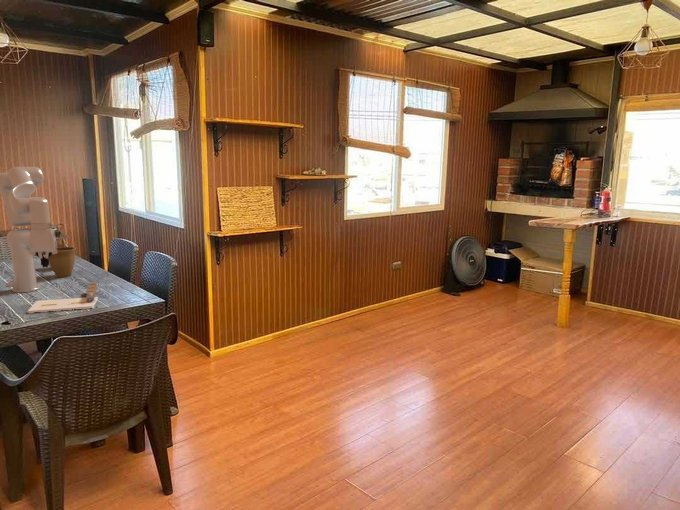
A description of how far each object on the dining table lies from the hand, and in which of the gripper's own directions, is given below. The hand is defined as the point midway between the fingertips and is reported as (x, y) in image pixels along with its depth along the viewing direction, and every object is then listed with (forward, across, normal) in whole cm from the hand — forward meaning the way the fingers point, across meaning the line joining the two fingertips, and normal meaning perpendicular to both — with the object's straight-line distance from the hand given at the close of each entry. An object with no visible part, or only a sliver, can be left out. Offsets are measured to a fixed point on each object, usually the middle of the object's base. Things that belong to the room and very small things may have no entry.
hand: (45, 266), depth 223 cm
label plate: (+19, -6, 0) cm, 20 cm away
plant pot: (+19, +6, -63) cm, 66 cm away
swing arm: (+17, -16, -11) cm, 26 cm away
